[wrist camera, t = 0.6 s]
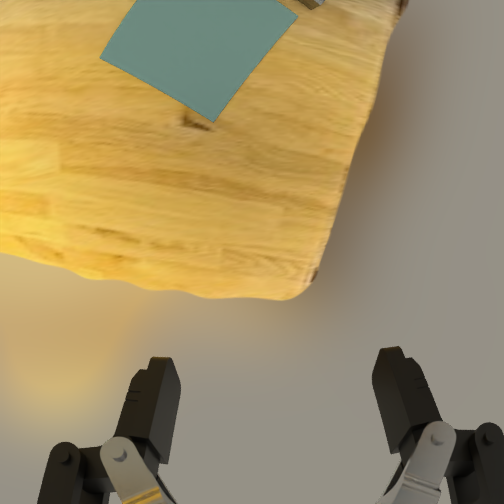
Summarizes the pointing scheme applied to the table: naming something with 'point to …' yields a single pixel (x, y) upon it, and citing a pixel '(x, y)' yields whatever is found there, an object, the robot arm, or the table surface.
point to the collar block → (312, 3)
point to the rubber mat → (197, 46)
